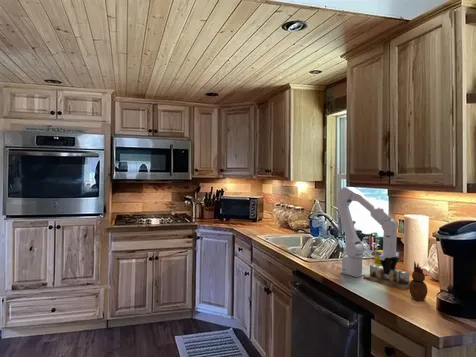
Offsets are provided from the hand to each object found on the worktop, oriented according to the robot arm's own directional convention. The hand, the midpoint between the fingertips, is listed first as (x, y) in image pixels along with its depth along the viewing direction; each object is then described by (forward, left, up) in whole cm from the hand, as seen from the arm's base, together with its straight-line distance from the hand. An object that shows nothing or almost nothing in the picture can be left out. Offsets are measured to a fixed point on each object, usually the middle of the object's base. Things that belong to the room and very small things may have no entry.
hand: (388, 273), depth 165 cm
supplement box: (-10, +13, -4) cm, 17 cm away
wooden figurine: (+20, -13, -4) cm, 24 cm away
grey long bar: (0, 0, -2) cm, 2 cm away
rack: (0, 0, -4) cm, 4 cm away
